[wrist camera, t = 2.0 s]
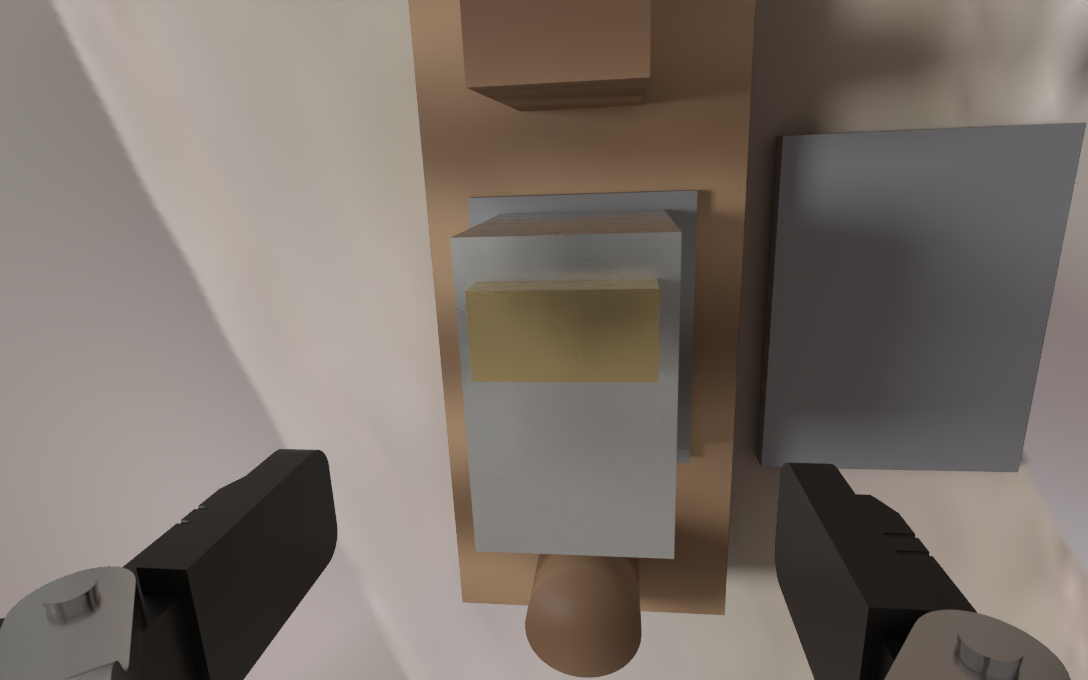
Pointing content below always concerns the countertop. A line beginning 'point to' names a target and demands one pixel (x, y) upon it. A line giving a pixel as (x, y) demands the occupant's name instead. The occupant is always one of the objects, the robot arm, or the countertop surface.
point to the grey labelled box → (571, 380)
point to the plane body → (592, 185)
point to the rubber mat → (911, 294)
